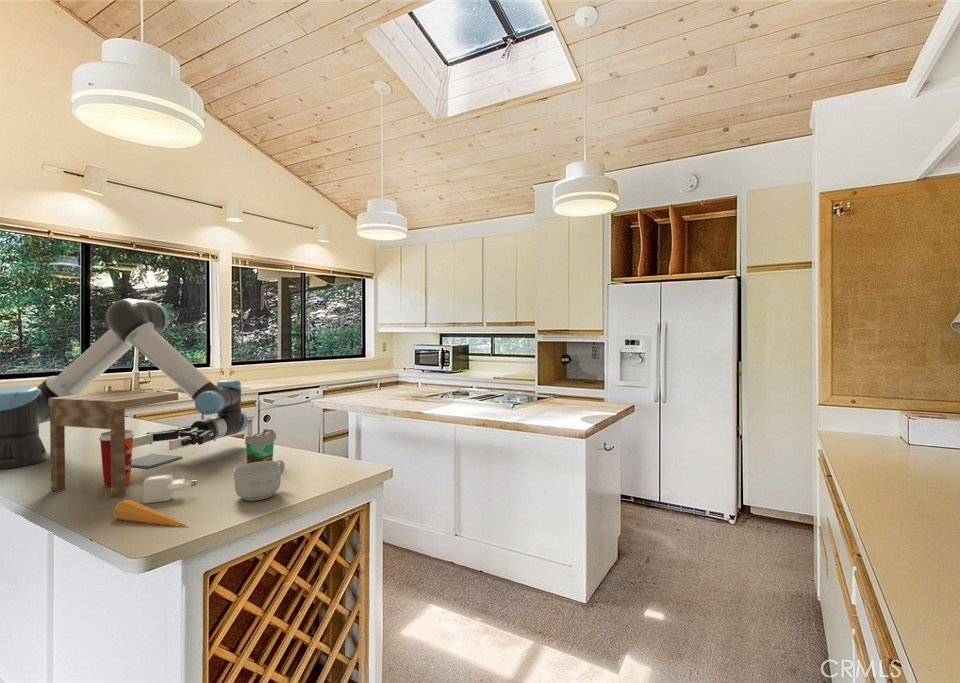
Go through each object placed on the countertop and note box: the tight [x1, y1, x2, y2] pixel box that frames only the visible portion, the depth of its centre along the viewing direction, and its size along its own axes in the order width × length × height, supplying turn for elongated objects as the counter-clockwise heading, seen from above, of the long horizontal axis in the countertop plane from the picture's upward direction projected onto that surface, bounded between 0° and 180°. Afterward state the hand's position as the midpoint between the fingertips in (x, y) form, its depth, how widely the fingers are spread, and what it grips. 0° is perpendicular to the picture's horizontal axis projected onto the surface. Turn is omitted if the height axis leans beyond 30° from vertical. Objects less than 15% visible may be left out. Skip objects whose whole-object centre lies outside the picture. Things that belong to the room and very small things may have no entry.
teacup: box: [232, 459, 286, 502], centre depth 122 cm, size 14×11×8 cm
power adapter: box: [142, 474, 199, 504], centre depth 118 cm, size 11×5×6 cm, turn 115°
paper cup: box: [98, 429, 135, 488], centre depth 130 cm, size 8×8×14 cm
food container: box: [244, 428, 277, 464], centre depth 149 cm, size 12×6×10 cm, turn 179°
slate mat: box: [131, 453, 183, 469], centre depth 152 cm, size 12×12×1 cm
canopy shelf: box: [48, 389, 179, 499], centre depth 130 cm, size 22×18×24 cm
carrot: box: [113, 499, 188, 527], centre depth 104 cm, size 20×4×4 cm, turn 75°
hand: (150, 444), depth 140 cm, fingers open, 13 cm apart
